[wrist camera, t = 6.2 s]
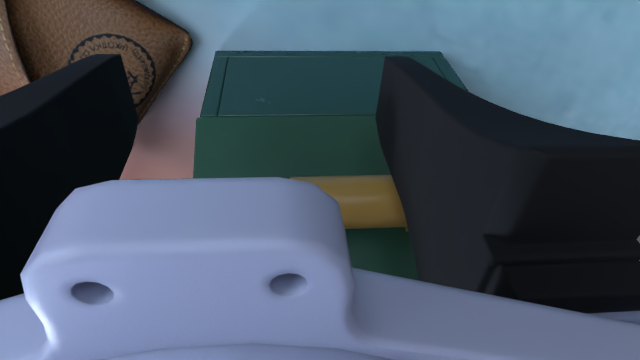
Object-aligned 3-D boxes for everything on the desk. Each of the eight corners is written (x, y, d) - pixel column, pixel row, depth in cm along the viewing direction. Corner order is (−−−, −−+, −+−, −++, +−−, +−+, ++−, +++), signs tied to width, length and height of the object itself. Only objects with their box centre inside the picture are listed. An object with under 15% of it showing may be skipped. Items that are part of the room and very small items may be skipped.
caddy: (399, 222, 31) (421, 294, 27) (238, 228, 30) (231, 303, 26) (440, 51, 23) (484, 112, 18) (215, 50, 21) (199, 115, 17)
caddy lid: (576, 532, 13) (699, 612, 9) (174, 575, 12) (120, 686, 8) (484, 121, 18) (538, 61, 14) (199, 125, 17) (174, 61, 13)
